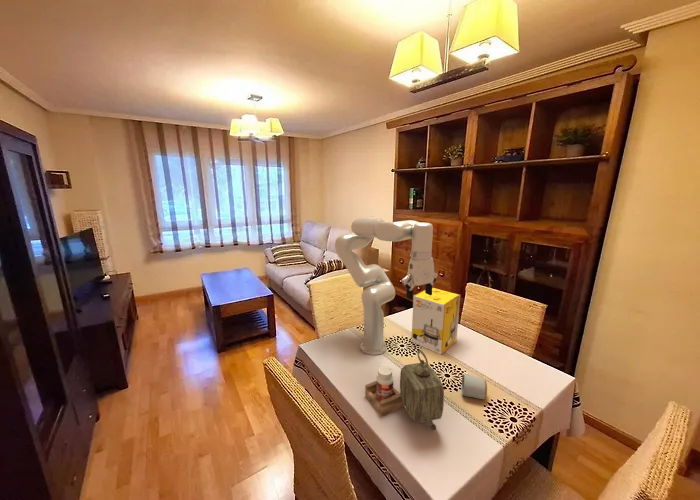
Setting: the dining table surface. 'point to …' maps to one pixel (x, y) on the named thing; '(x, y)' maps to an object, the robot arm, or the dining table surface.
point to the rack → (384, 405)
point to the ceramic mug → (474, 386)
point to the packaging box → (435, 320)
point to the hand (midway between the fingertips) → (419, 296)
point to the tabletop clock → (422, 391)
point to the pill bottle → (384, 383)
